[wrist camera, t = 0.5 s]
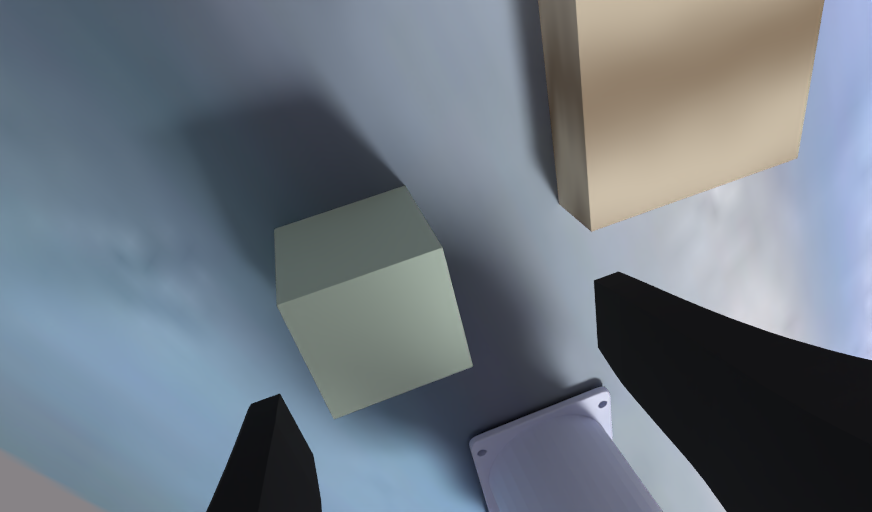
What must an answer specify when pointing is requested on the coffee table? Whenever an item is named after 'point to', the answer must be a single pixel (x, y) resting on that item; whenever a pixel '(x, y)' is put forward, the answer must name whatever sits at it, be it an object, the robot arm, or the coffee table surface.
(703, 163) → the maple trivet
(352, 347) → the sage cube
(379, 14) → the coffee table surface
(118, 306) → the coffee table surface
